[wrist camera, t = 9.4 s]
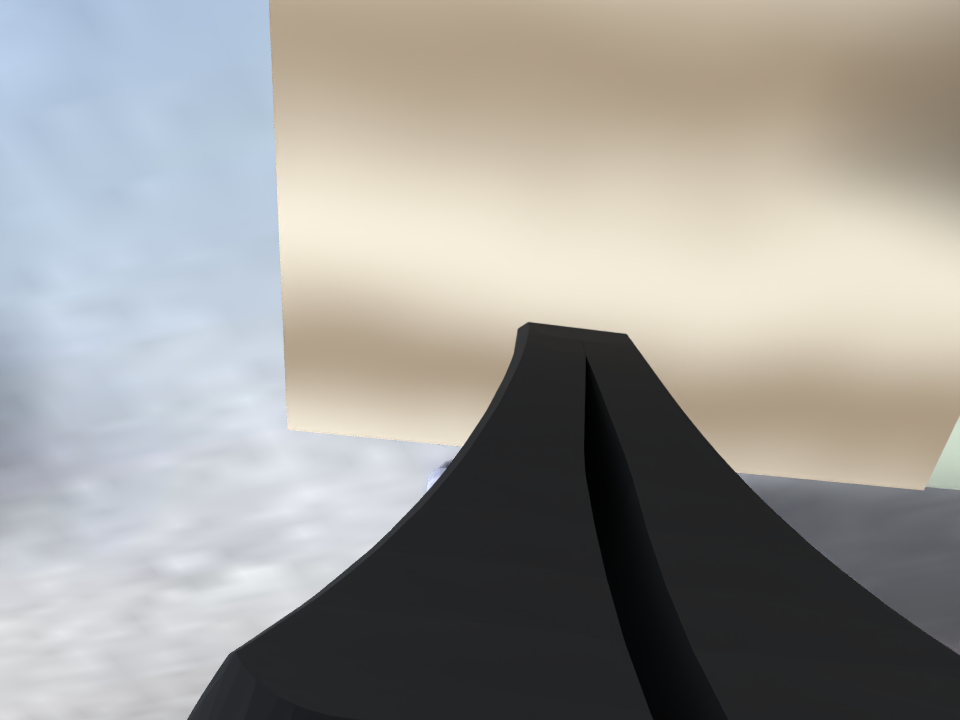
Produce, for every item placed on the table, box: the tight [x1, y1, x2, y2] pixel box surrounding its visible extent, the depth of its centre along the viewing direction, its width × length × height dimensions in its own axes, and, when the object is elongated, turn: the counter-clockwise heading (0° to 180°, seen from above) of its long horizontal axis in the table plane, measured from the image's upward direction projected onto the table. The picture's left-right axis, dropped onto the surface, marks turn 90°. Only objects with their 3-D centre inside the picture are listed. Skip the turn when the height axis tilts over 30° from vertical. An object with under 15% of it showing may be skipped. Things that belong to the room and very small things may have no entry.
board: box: [269, 0, 960, 490], centre depth 16 cm, size 16×14×3 cm
